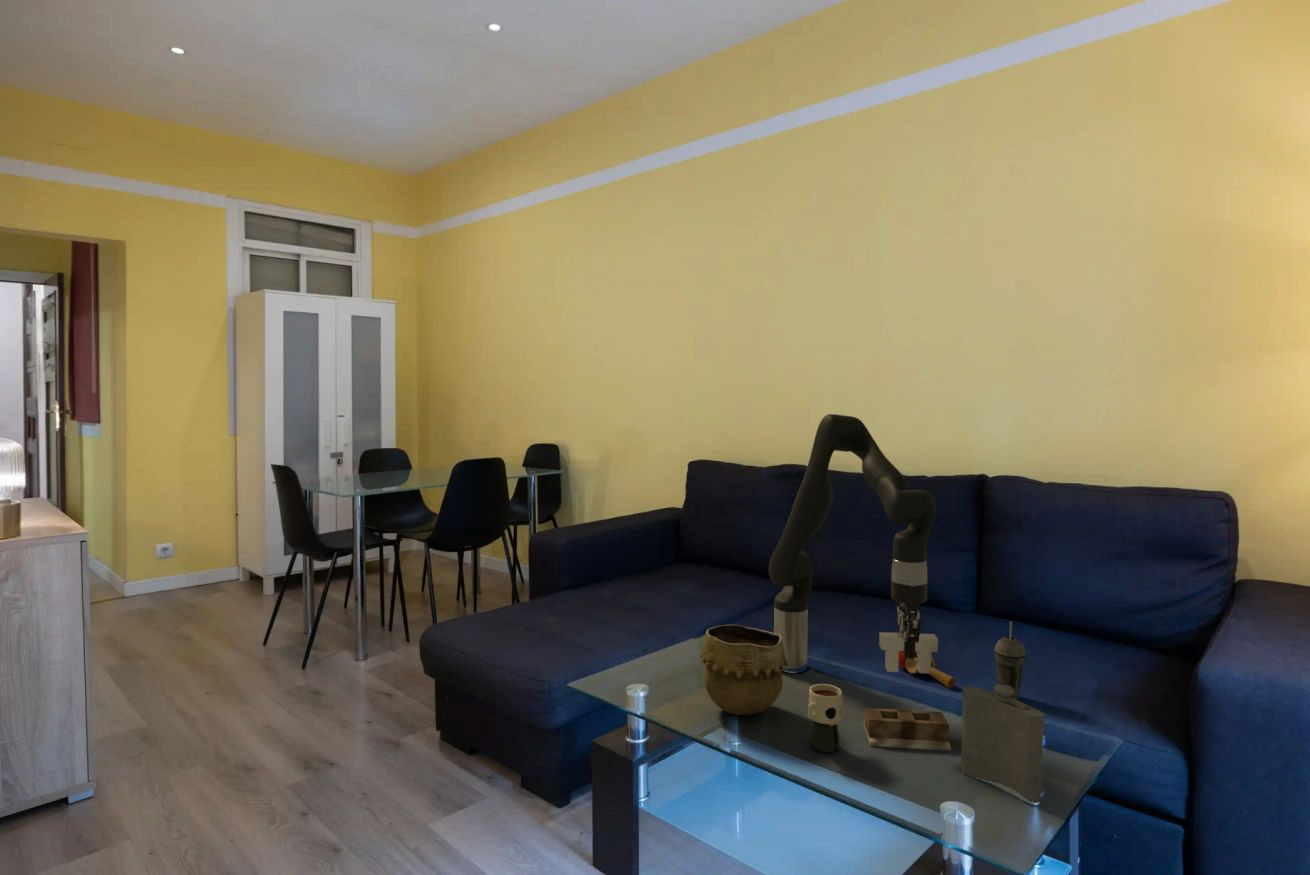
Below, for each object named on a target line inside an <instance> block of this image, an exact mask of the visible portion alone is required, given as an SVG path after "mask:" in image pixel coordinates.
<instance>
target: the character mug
mask: <svg viewBox="0 0 1310 875" xmlns="http://www.w3.org/2000/svg"><path fill="white" fill-rule="evenodd" d="M808 691H809V692H808V705H807V717H808V719H810V720H812V721H813V723H812V727H811V734H810V741H809V742H810V745H811V747H813V748H815V749H816V750H818V751H820V752H822V753H834V752H836V751H835V750H836V748H835V747H837V750H839V749H840V746H841V745H840V734H839V729H838V728H839V726H838V724H839V723H840V722H841V721H842V718H843V702H844V701H843V690H842V689H841V688H839V687H838V686H835V685H834V684H833V685H832V684H829V683H828V684H827V683H816V684H813V685H811V686H810V687H809V690H808Z"/></svg>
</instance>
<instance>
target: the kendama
mask: <svg viewBox="0 0 1310 875" xmlns="http://www.w3.org/2000/svg"><path fill="white" fill-rule="evenodd" d="M898 666H899V667H900V668H902V669H904V670H906V671H908V673H911V674H917V673H919V671H918V669H917V652H916V651H915V658H914V659H907V658H905V656H904V652H902V651H899V658H898ZM928 675H930V676H931V677H933V678H934V679H936V680H937V681H938V682H940V683H941V684H943V685H944V686H945V687H946V688H948V689H952V688H954V686H955V685H956V679H955V677H953V676H951V675H949V674H947V673H944V672H943V671H940V670H939V669H936V662H935V659H934V658H933V656H931V673H928Z"/></svg>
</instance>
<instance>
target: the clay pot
mask: <svg viewBox="0 0 1310 875" xmlns="http://www.w3.org/2000/svg"><path fill="white" fill-rule="evenodd" d="M701 648H702V649H701V651H700V653H699V657H700V659H701V661H702V663H703V664H705V668H704V669H705V670H704V676H703V677H704V679H703V680H704V686H705V690H706V692H707V694H708V697H710V699H711V700H712V702H713V703H714V704H715V705H716V706H717V707H718V708H719V709H721V710H722V711H724V712H726V713H728V714H730V715H734V716H735V715H736V716H753V715H755V714H759V713H761V712H764V711H765V710H768V708H769V707H770V706H772V705H773V704H774V703H775V701H776V700H777V699H778V697H779V696H780V694H781V692H782V689H783V682H784V681H783V675H782V674H783V672H781V670H782V671H784V670H785V666H788V664H789V663H788V662H787V661H786V658H785V654H784V646H783V641H782V637H781V635H780V634H774V632H771V631H768V630H763V629H759V628H754V627H747V626H743V625H739V624H722V625H721V624H720V625H717V626H712V627H710V628H708V629H706V631H705V635H704V639H703V644H702V647H701Z"/></svg>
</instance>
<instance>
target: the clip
mask: <svg viewBox="0 0 1310 875" xmlns="http://www.w3.org/2000/svg"><path fill="white" fill-rule="evenodd" d="M878 635H879V637H878V638H879V640H878V641H879V642H878V645H879V647H880V650H881V651H885V654H884V655H885V656H884V657H885V661H884V665H885V666H884V668H885V670H886V672H888V673H889V672H890V673H899V664H898V658H899V651H904V642H905V641H904V633H900V632H886V631H885V632H883V631H879V634H878ZM910 636H913V635H910ZM915 651H916V652H917V669H918V673H919V674H929V673H931V657H932V653H939V638H938V637H937V636H936V635H935V633H920V636H919V642H915Z"/></svg>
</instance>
